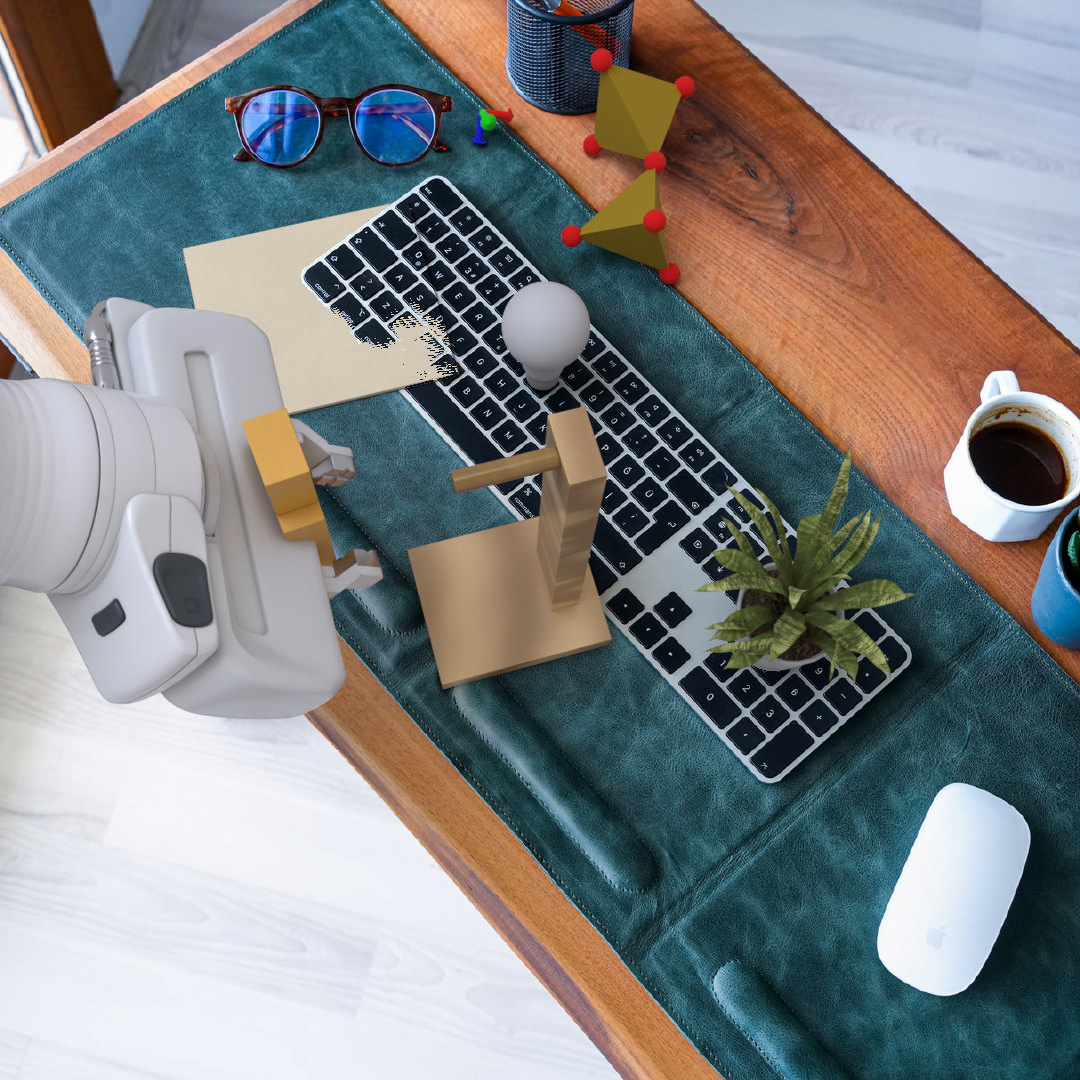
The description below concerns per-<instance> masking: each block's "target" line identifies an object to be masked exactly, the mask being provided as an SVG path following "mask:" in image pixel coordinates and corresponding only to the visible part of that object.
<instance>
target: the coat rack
mask: <svg viewBox="0 0 1080 1080" xmlns="http://www.w3.org/2000/svg"><path fill="white" fill-rule="evenodd" d="M449 474H450V480H451V483H452V487H453V490H454V493H455V494H456V495H459V494H464V493H467V492H471V491H474V490H479V489H483V488H486V487H491V486H495V485H499V484H503V483H507V482H511V481H515V480H520V479H523V478H527V477H531V476H535V475H539V474H542V479H541V481H542V482H541V492H540V503H539V505H540V506H539V515H538V516H534V517H530V518H527V519H522V520H519V521H515V522H509V523H507V524H503V525H498V526H495V527H494V526H493V527H491V528H486V529H482V530H478V531H475V532H471V533H467V534H464V535H463V534H462V535H459V536H455V537H451V538H448V539H444V540H440V541H435V542H431V543H427V544H423V545H420V546H416V547H412V548H408V549H407V554H408V559H409V562H410V567H411V571H412V575H413V578H414V583H415V586H416V590H417V593H418V594H417V595H418V597H419V602H420V606H421V609H422V613H423V617H424V621H425V624H426V629H427V633H428V637H429V640H430V641H429V642H430V644H431V648H432V652H433V656H434V660H435V664H436V668H437V671H438V672H437V673H438V675H439V676H438V677H439V679H440V683H441V687H442V689H443V690H446V689H450V688H454V687H457V686H462V685H464V684H469V683H472V682H476V681H480V680H484V679H488V678H491V677H494V676H498V675H502V674H505V673H510V672H513V671H517V670H521V669H525V668H527V667H531V666H536V665H540V664H543V663H546V662H550V661H554V660H559V659H561V658H565V657H569V656H572V655H576V654H579V653H580V654H581V653H583V652H587V651H591V650H595V649H598V648H602V647H605V646H606V647H607V646H610V645H611V643H612V640H613V637H612V634H611V631H610V628H609V624H608V621H607V618H606V614H605V612H604V609H603V604H602V602H601V599H600V596H599V593H598V588H597V586H596V583H595V579H594V576H593V574H592V569H591V567H590V563H589V559H590V555H591V551H592V547H593V541H594V538H595V533H596V529H597V524H598V519H599V515H600V511H601V510H600V509H601V506H602V501H603V498H604V492H605V488H606V484H607V479H608V473H607V469H606V467H605V464H604V460H603V457H602V454H601V450H600V448H599V445H598V442H597V439H596V436H595V432H594V429H593V426H592V424H591V420H590V417H589V414H588V411H587V408H586V406H584V405H583V406H580V407H575V408H572V409H568V410H564V411H560V412H555V413H551V414H548V415H547V419H546V433H545V445H544V447H543V448H538V449H534V450H530V451H526V452H523V453H517V454H514V455H510V456H507V457H501V458H497V459H493V460H490V461H486V462H482V463H478V464H473V465H469V466H466V467H462V468H457V469H454V470H451V471H450V472H449Z"/></svg>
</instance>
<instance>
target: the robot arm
mask: <svg viewBox="0 0 1080 1080" xmlns="http://www.w3.org/2000/svg"><path fill="white" fill-rule="evenodd" d="M83 338H84V342H85V345H86V348H87V349H88V353H89V358H90V377H91V384H90V383H89V384H88V383H83V382H77V381H72V380H66V379H60V378H54V377H39V378H29V379H20V380H19V379H5V378H0V587H10V588H15V589H20V590H23V591H24V590H25V591H28V592H31V593H34V594H35V593H36V594H45V595H46V597H47V598H48V600H49V602H50V603H51V605H52V606H53V609H54V610H55V611H56V612H57V614H58V616H59V618H60V619H61V621H62V623H63V624H64V627H65V628H66V630H67V632H68V633H69V635H70V638H71V640H72V642H73V643H74V645H75V647H76V649H77V651H78V653H79V655H80V656H81V659H82V661H83V663H84V665H85V667H86V669H87V671H88V674H89V676H90V678H91V681H92V682H93V684H94V686H95V688H96V690H97V691H98V693H99V694H100V695H101V697H102V698H103V699H104V700H105V701H107V702H108V703H111V704H114V705H127V704H130V705H131V704H135V703H138V702H142V701H143V700H147V699H148V698H152V697H154V696H156V695H157V694H161V696H162V697H164V699H165V700H167V701H168V702H169V703H170V704H172V705H173V706H175V707H176V708H178V709H180V710H181V711H184V712H188V713H190V714H193V715H199V716H204V717H212V718H213V717H214V718H223V719H237V720H239V719H240V720H281V719H282V720H283V719H292V718H297V717H299V716H302V715H304V714H307V713H309V712H311V711H313V710H315V709H317V708H320V706H322V705H324V704H325V703H327V702H329V701H330V700H331V699H333V698H334V697H335V695H336V694H337V693H338V692H339V691H340V689H342V687H343V685H344V684H345V682H346V679H347V671H346V667H345V663H344V659H343V655H342V651H341V646H340V642H339V637H338V633H337V629H336V624H335V620H334V616H333V611H332V608H331V607H332V606H331V602H330V599H332V598H334V597H335V596H337V595H338V594H340V593H341V592H343V591H344V590H364V589H368V588H370V587H372V586H373V585H376V583H378V582H380V581H381V580H383V579H384V575H383V571H382V566H381V563H380V559H379V555H378V552H377V550H375V549H369V550H366V549H364V548H355V547H354V548H352V549H350V550H349V551H347V552H346V553H345V555H344V557H343V556H340V557H337V558H336V561H334V562H333V566H334V568H333V567H332V566H321V563H320V559H319V555H318V550H317V546H316V542H315V541H311V540H303V541H286V540H285V537H284V535H283V532H282V529H281V527H280V524H279V521H278V518H277V516H276V513H275V511H274V508H273V506H272V503H271V501H270V498H269V495H268V493H267V490H266V488H265V485H264V483H263V480H262V477H261V474H260V472H259V469H258V466H257V464H256V461H255V458H254V456H253V453H252V450H251V447H250V445H249V442H248V439H247V437H246V434H245V431H244V429H243V426H242V422H243V421H246V420H249V419H252V418H255V417H258V416H261V415H264V414H267V413H270V412H273V411H277V410H280V409H283V408H285V407H284V403H283V398H282V394H281V390H280V385H279V381H278V377H277V372H276V368H275V364H274V359H273V355H272V350H271V346H270V342H269V338H268V336H267V335H266V333H265V332H264V331H263V330H261V329H260V328H259V327H258V326H257V325H256V324H254V323H253V322H252V321H251V320H249V319H248V318H245V317H242V316H237V315H233V314H227V313H221V312H214V311H207V310H199V309H195V308H186V307H174V306H173V307H172V306H170V307H169V306H167V307H154V306H152V305H150V304H148V303H145V302H140V301H136V300H132V299H130V298H129V299H128V298H124V297H118V296H113V297H109V298H108V299H103V300H102V301H99V302H98V303H96V305H95V306H94V307H93V309H92V311H91V315H90V316H88V317H87V318H86V319H85V320H84V323H83ZM290 420H291V422H292V425H293V427H294V430H295V433H296V435H297V438H298V440H299V443H300V446H301V448H302V451H303V453H304V456H305V459H306V461H307V464H308V467H309V469H310V472H311V476H312V480H313V483H314V485H318V486H325V485H329V486H330V487H335V488H337V487H342V486H344V485H346V484H348V483H349V481H350V479H355V478H356V477H357V476H358V471H357V467H356V463H355V457H354V453H353V449H352V448H350V447H347V446H341V445H335V444H329V441H327V440H326V439H325V438H323V436H321V435H320V434H318V433H317V432H316V431H314V430H313V429H312V428H311V427H309V426H308V425H307V424H306V423H305V422H303V421H302V420H301V419H298V418H295V417H294V418H293V417H290ZM334 571H335V572H334ZM334 576H335V577H334Z"/></svg>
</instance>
